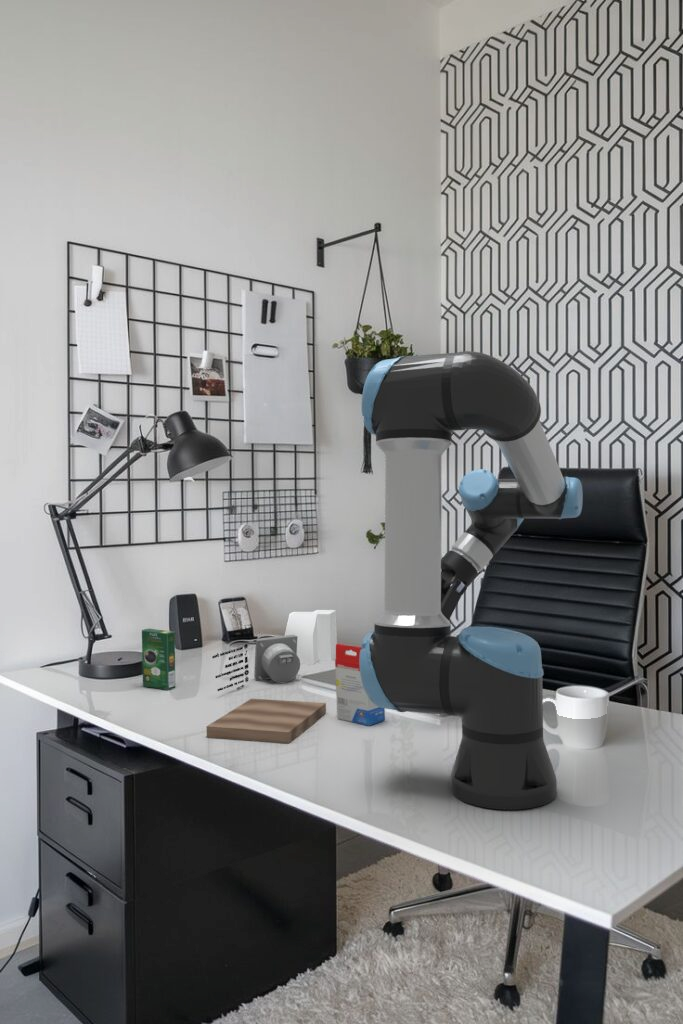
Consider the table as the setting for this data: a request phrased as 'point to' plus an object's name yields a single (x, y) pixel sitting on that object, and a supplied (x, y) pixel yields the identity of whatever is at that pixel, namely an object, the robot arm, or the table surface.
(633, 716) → the table surface
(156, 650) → the coffee box
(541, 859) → the table surface
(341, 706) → the ink box
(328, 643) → the corner bracket
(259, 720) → the walnut plate
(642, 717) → the table surface
